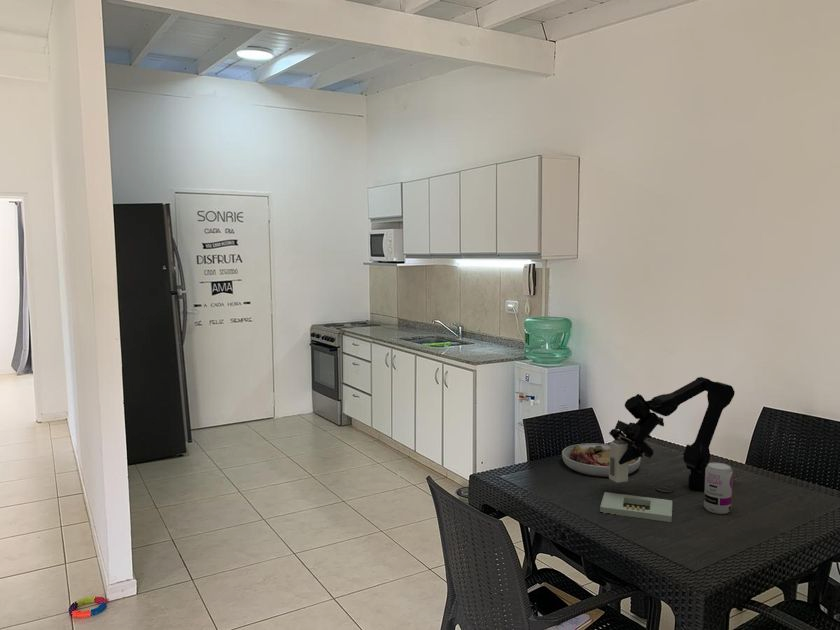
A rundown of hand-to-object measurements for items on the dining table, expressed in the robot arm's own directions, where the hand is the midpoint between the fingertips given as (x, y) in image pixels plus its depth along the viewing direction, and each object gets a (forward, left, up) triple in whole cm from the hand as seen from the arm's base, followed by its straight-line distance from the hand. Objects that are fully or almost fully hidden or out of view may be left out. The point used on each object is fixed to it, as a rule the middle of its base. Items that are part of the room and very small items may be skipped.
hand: (615, 461), depth 232 cm
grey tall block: (-1, -1, -7) cm, 7 cm away
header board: (-8, +6, -13) cm, 17 cm away
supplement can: (-33, -3, -14) cm, 36 cm away
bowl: (+8, -35, -14) cm, 38 cm away
